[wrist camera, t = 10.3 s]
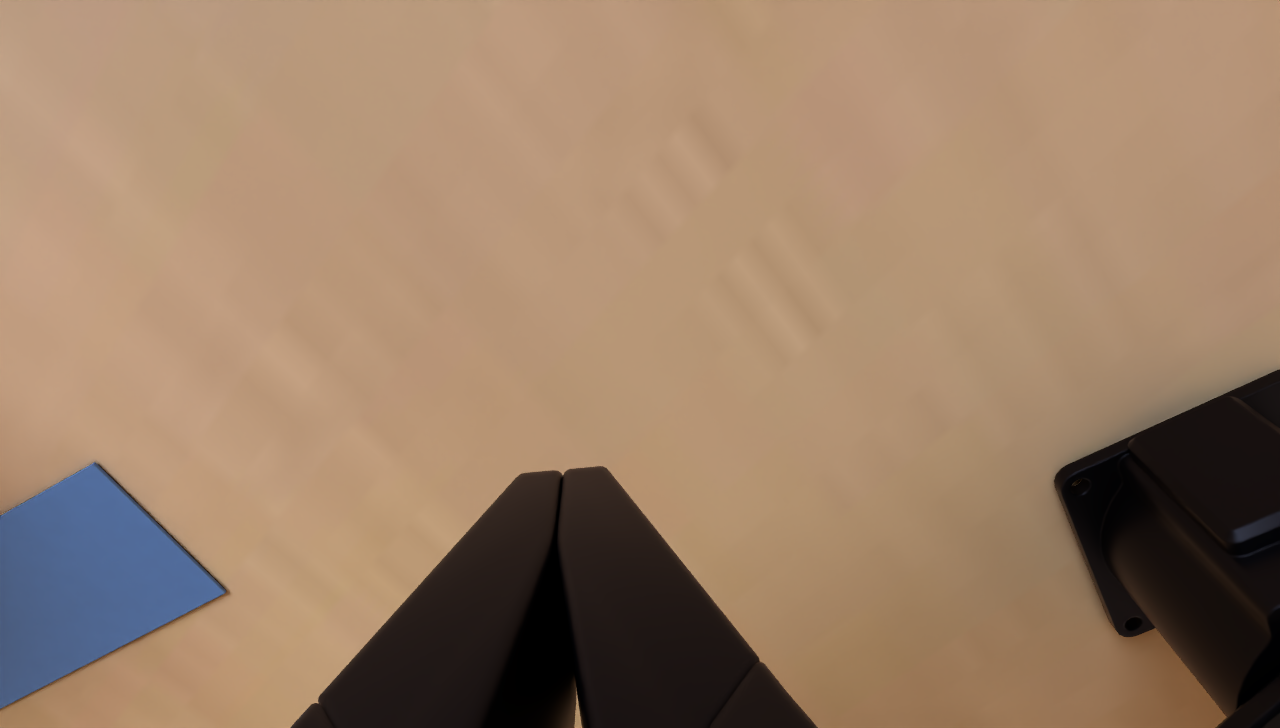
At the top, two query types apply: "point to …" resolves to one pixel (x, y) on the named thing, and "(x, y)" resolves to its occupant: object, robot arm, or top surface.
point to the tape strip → (85, 580)
